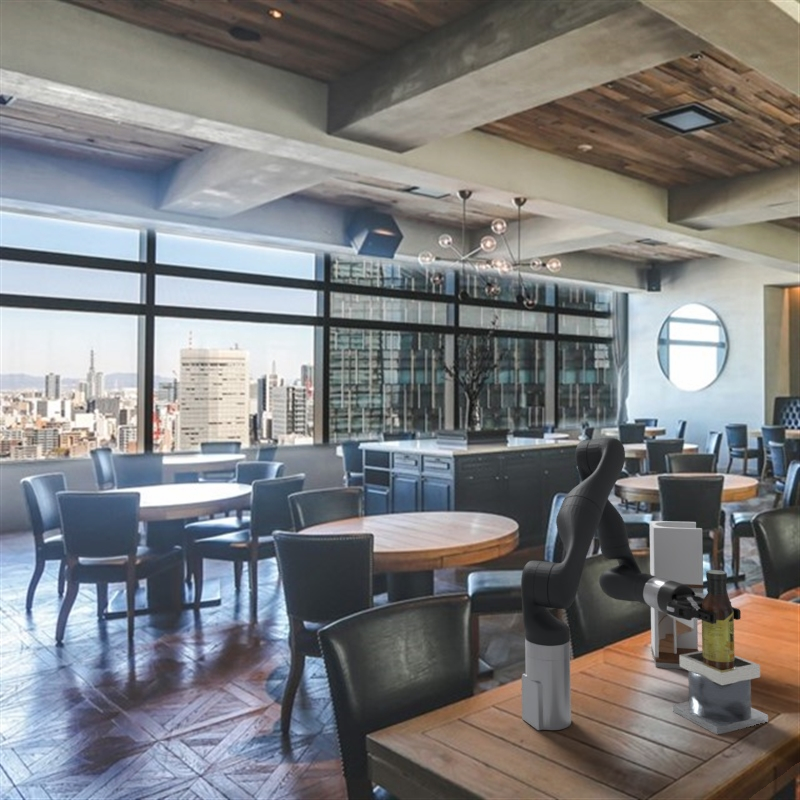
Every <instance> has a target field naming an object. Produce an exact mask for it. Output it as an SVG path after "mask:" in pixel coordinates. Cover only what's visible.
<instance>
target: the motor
mask: <svg viewBox="0 0 800 800" xmlns="http://www.w3.org/2000/svg"><path fill="white" fill-rule="evenodd" d="M734 656H735V660H734V666H733V668H731V669H726V670H719V669H717V668H715V667H712V666H710V665H707V664H705V663H704V662H703V658H704V657H703V653H702V650H699V651H698V652H692V653H687V654H682V655H679V658H680V667H682V668H684V669H683V670H687V671H688V701H684V702H679V703H674V704H672V711H673V713H675V714H677V715H679V716H680V717H682V718H684V719H686V720H688V721H690V722H692V723H693V724H696V725H698V726H700V727H702V728H703V729H705V730H707V731H709V732H711V733H713V734H715V735H717V736H718V734H719V735H723V734H726V733H730V732H734V731H739V730H741V729H742V730H743V729H746V727H747V728H750V726H751V727H754V725H755V726H757V725H756V724H759V725H761V724H760V723H763V724H766V723H765V722H767V723H769V714H766V713H765V712H762V711H760V710H758V709H756V708H753V707H752V690H751V689H752V685H751V684H752V683H751V681H752V680H754V679H758V678H761V664H758V663H756V662H754V661H750V660H748V659H745V658H743V657H740V656H738V655H735V654H734ZM738 729H739V730H738Z"/></svg>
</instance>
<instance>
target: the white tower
mask: <svg viewBox="0 0 800 800" xmlns="http://www.w3.org/2000/svg"><path fill="white" fill-rule="evenodd" d="M703 549H704V548H703V528H702V527H701V528H700V527H697V522H696V521H673V520H672V521H667V520H664V521H663V520H661V521H660V520H649V570H650V572H649V575H652V576H655V577H659V578H665V579H669V580H672V581H675V582H678V583H681V584H685V585H687V586H689V587H691V588H692V590H693V591H694V593H695V594H696V595H701V596H703V597H704V568H703V565H704V563H703V561H704V560H703V558H704V557H703ZM698 628H699V627H698V620H695V619H694V618H692V620H686V619H683V618H677V617H674V616H672V615H669V614H666V613H664V612H661V611H658V610H656V609H654V608H652V607H651V606H650V630H651V631H650V634H651V635H650V637H651V638H650V640H651V641H650V642H651V648H650V649H651V650H650V651H651V652H652V653H651V657H652V659H654V660H653V663H654V666H655V668H662V669H663V667H664V669H665V668H666V669H677V670H678V669H679V670H685V669H684V668H682V667H680V658H679V655H682V654H687V653H692V652H698V651H700V650H699V648H698V647H699V646H698V645H699V642H698V641H699V640H698V639H699V638H698V633H699V632H698V631H699V630H698Z"/></svg>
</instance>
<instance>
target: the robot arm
mask: <svg viewBox="0 0 800 800" xmlns="http://www.w3.org/2000/svg"><path fill="white" fill-rule="evenodd" d="M625 450H626V449H625V446H624V444H623V443H622V441H621V440H620V439H618V438H615V437H602V438H594V439H593V438H592V439H585V440H581V441H579V442H578V444H577V446H576V448H575V451H574V452H575V454H574V455H575V462H576V467H577V471H578V474H579V478H580V480H581V482H580V483H578V485H576V486H575V487H573V488H572V489H571V490H570V491H569V492H568V493H567V494H566V496H565V497H564V499H563V500H562V503H561V505H560V507H559V510H558V513H557V516H556V520H555V524H556V529H557V532H558V534H559V537H560V539H561V543H562V544H563V546H564V550H565V555H564V556H565V557H564V559H563V561H562V562H551V561H542V560H529V561H528V562H527V563H526V564H525V565H524V567H523V569H522V572H521V573H522V574H521V578H520V579H521V582H520V590H521V591H520V594H521V604H522V621H523V622H522V624H523V628H524V639H525V641H524V645H525V646H524V651H525V653H524V654H525V655H524V656H525V657H524V659H525V662H524V663H525V673H522V674H521V714H522V715H521V719H522V720H523V721H524V722H526V723H527V724H529V725H530V726H532V727H533V728H534V729H535V730H537V731H542V730H543V731H544V730H546V731H559V730H564V729H567V728H569V727H570V725H571V724H572V705H571V704H572V700H571V697H572V696H571V695H572V691H571V632H570V627H569V625H567V623H565V622H564V621H562V620H561V619H559V618H557V617H556V616H554V615H553V614H552V613H551V612H550V611H549V610H548V608H551V609H557V610H567V609H569V608H570V607H571V606H573V605H572V604H573V603H574V601H575V598H576V596H577V594H578V590H579V587H580V582H581V579H582V574H583V572H584V566H585V564H586V560H587V556H588V552H589V551H590V547H591V545H592V542H593V540H594V537H595V535H596V532H597V537H598V541H599V548H600V552H601V555H602V557H603V558H605V559H607V560H617V562H618V565H617V566H614V567H611V568H608V569H606V570H604V571H603V572H602V573H601V574H600V576H599V581H598V583H599V587H600V589H601V591H602V592H603V593H604V594H605V595H606V596H608V597H610V598H611V599H614V600H618V601H623V602H624V601H626V602H636V603H637V602H638V603H640V604H643V605H646V606H649V607H650V608H651V607H652V608H654V609H656V610H658V611H661V612H664V613H666V614H669V615H672V616H674V617H677V618H683V619H686V620H692V618H694V619H695V620H697V621H702V620H703V621H706V622H708V623H711V624H715V623H716V614H715V613H714V612H711V611H708V610H705V609H702V602H703V600H704V598H705V596H704V595H703V596H701V595H696V594H695V593H694V591H693V590H692V588H691V587H689V586H687V585H685V584H681V583H678V582H675V581H672V580H669V579H665V578H659V577H655V576H652V575H650V573H649V574H647V573H642V571H641V568H640V566H639V564H638V563H637V560H636V558H635V555H634V554H633V552H632V550H631V547H630V541H629V537H628V530H627V526H626V524H625V521H624V519H623V517H622V514H621V513H620V512H619V511H618V509H617V508H616V507H615V506H614V505H613V503H612V502H611V501H610V500H609V496H610V494H611V492H612V490H613V488H614V487H615V484H617V481H618V479H619V477H620V475H621V473H622V471H623V469H624V465H625V460H626V451H625ZM730 603H731V604H732V602H731V601H730ZM732 608H733V612H734V620H736V621H738V620H741V615H742V614H741V610H740V608H737V607H733V606H732Z"/></svg>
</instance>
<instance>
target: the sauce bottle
mask: <svg viewBox="0 0 800 800" xmlns="http://www.w3.org/2000/svg"><path fill="white" fill-rule="evenodd" d="M705 577H706V580H707V583H706V584H707V589H706V591H707V594H706V595H705V596H704V597H705V598H704V600H703V602H702V609H705V610H708V611H711V612H714V613H715V614H716V623H715V624H711V623H708V622H706V621H703V620H701V644H702V646H701V647H702V649H701V651H702V653H703V657H704V658H703V662H704V663H705V664H707V665H710V666H712V667H715V668H717V669H719V670H726V669H731V668H733V666H734V660H735V656H736V655H735V626H734V625H735V623H734V621H735V619H734V612H733V608H732V607H733V605H732V602H731V600H730V598H729V595H728V592H727V591H728V589H727V580H728V573H727V572H726V571H723V570H718V569H708V570H706V571H705ZM730 602H731V603H730ZM734 655H735V656H734Z"/></svg>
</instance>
